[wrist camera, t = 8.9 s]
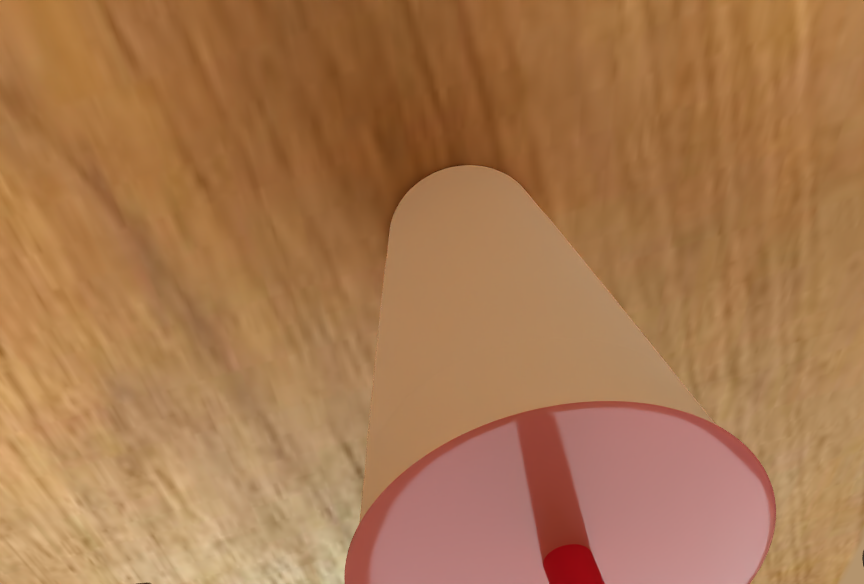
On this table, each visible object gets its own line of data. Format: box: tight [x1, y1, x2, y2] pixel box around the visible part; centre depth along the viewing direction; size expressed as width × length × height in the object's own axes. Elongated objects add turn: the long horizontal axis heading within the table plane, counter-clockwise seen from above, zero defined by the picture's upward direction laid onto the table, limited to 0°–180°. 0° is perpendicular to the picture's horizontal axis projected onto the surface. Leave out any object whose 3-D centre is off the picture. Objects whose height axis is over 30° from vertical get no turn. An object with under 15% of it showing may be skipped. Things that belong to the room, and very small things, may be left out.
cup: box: [345, 165, 776, 584], centre depth 11 cm, size 5×5×12 cm
